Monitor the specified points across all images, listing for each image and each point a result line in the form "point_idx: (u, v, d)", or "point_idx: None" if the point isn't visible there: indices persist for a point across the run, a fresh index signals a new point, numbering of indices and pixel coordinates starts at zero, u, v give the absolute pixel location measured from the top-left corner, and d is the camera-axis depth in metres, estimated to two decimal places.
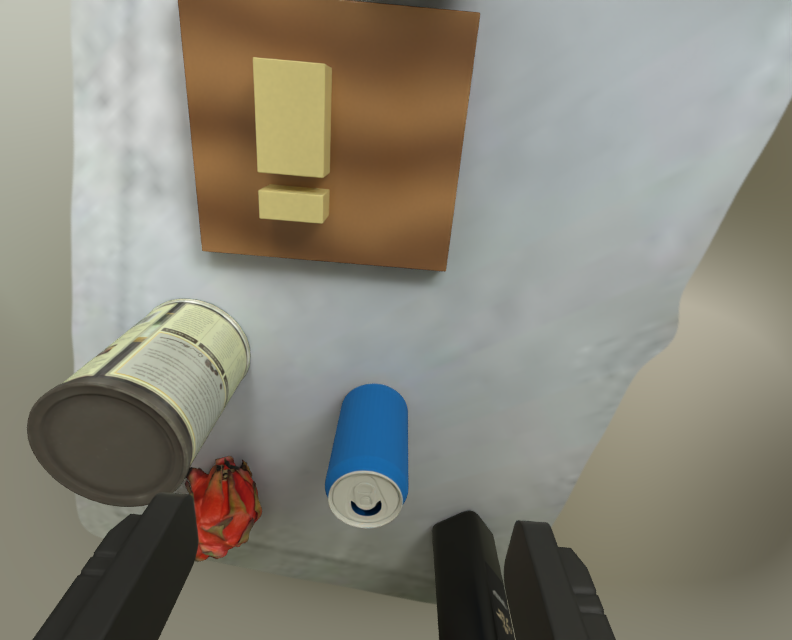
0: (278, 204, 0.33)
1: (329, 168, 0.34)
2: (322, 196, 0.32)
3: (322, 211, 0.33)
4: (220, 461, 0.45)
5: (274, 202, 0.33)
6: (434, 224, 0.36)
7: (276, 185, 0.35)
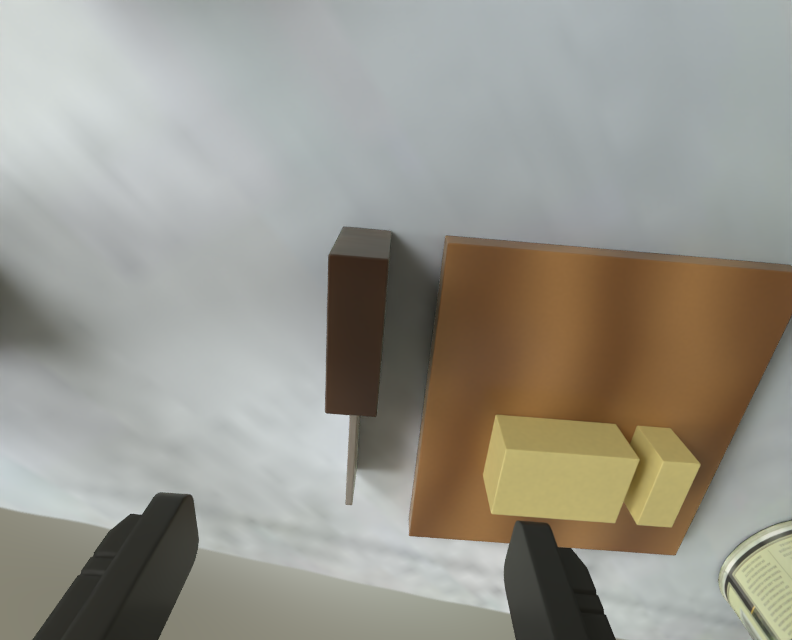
0: (659, 508, 0.25)
1: (611, 425, 0.26)
2: (663, 461, 0.24)
3: (683, 462, 0.24)
4: None
5: (656, 512, 0.25)
6: (725, 294, 0.23)
7: None
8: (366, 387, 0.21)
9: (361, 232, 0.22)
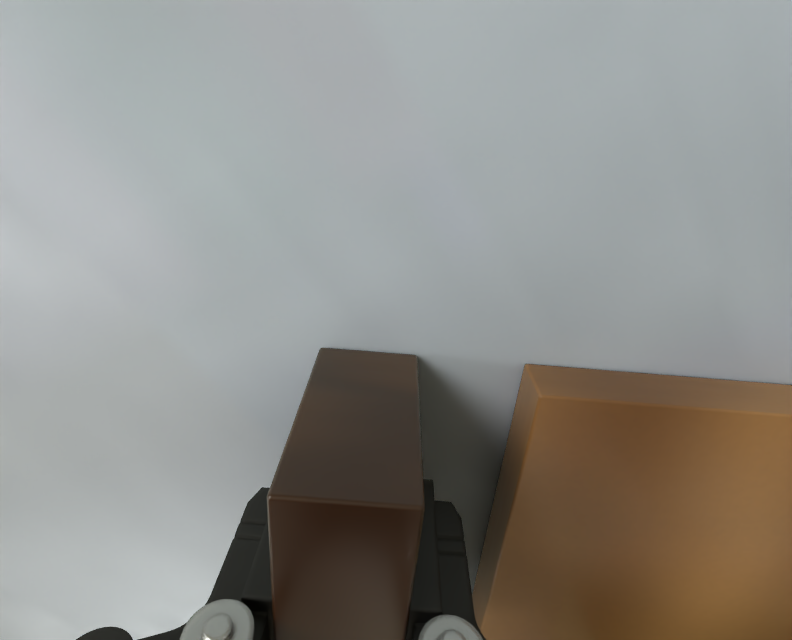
0: None
1: None
2: None
3: None
4: None
5: None
6: None
7: None
8: None
9: (356, 368, 0.11)
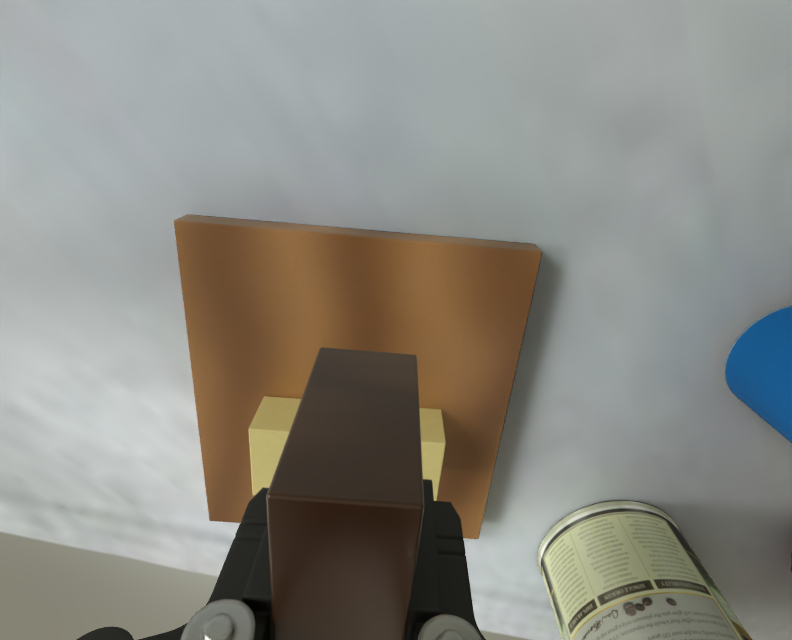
0: None
1: None
2: None
3: (428, 441, 0.24)
4: None
5: None
6: (461, 272, 0.23)
7: None
8: None
9: (356, 367, 0.11)
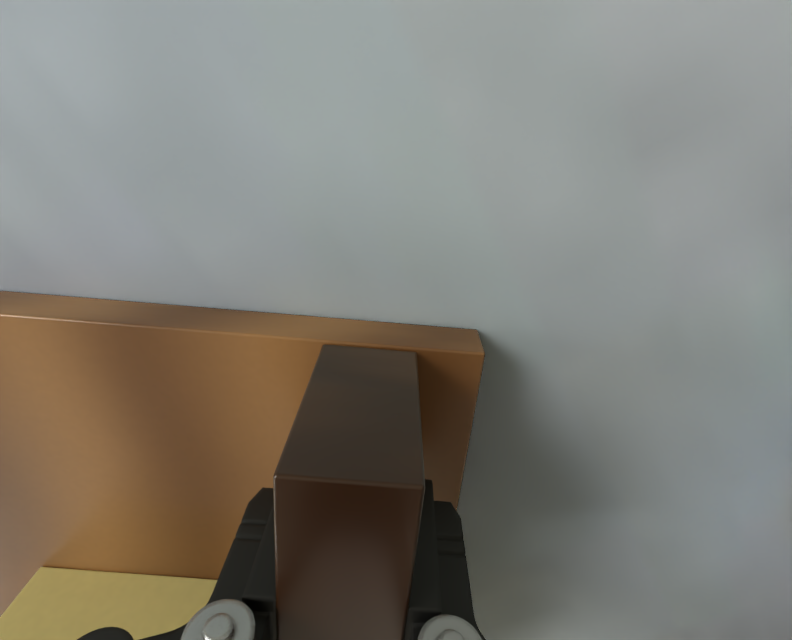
0: None
1: None
2: None
3: None
4: None
5: None
6: None
7: None
8: None
9: (358, 363, 0.11)
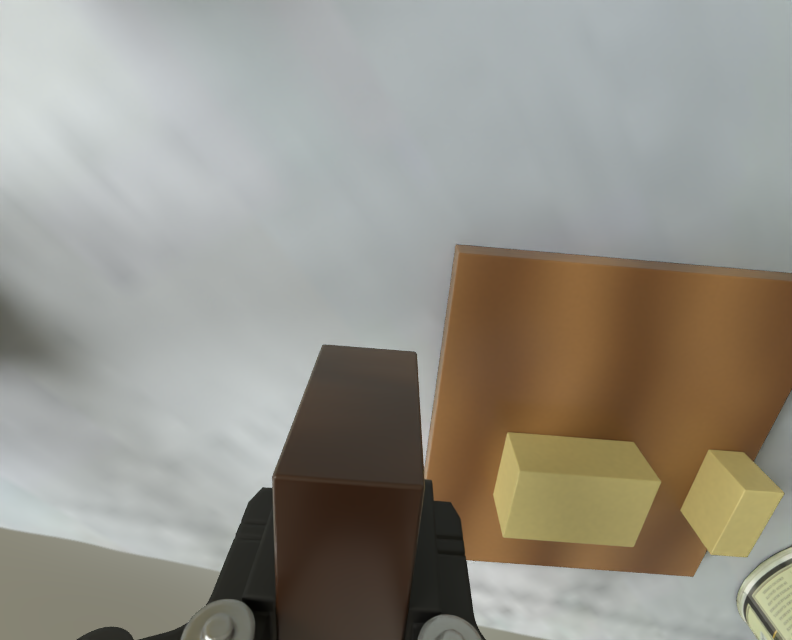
0: (736, 537, 0.24)
1: (629, 444, 0.25)
2: (744, 489, 0.22)
3: (766, 491, 0.22)
4: None
5: (732, 541, 0.24)
6: (753, 307, 0.22)
7: (686, 507, 0.26)
8: None
9: (357, 363, 0.11)
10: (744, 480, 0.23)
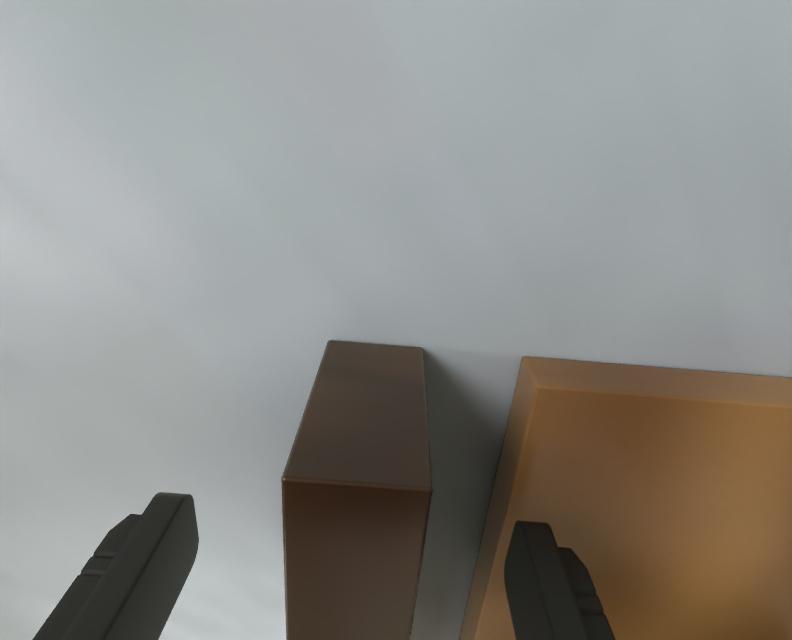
0: None
1: None
2: None
3: None
4: None
5: None
6: None
7: None
8: None
9: (364, 359, 0.11)
10: None
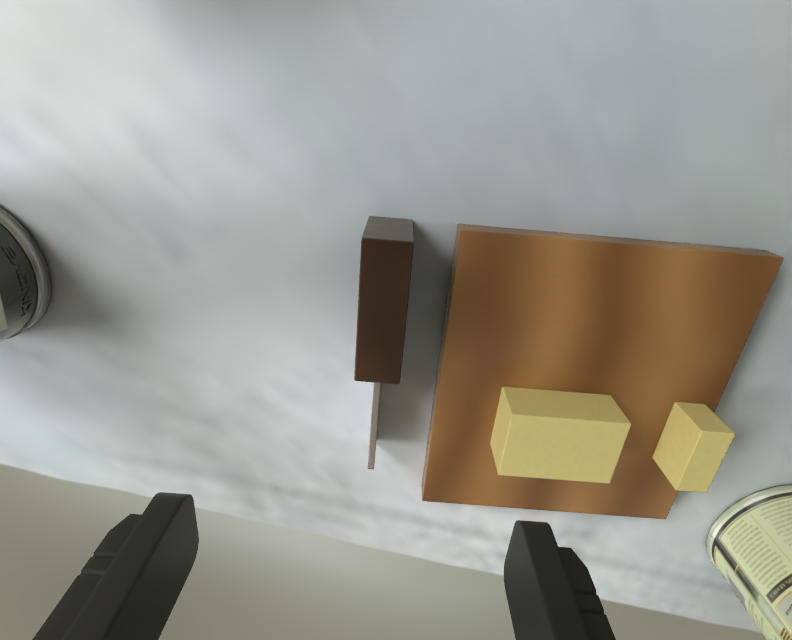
0: (696, 474, 0.28)
1: (606, 396, 0.29)
2: (701, 431, 0.27)
3: (719, 432, 0.27)
4: None
5: (693, 477, 0.28)
6: (707, 276, 0.26)
7: (657, 453, 0.31)
8: (391, 357, 0.24)
9: (386, 220, 0.25)
10: (702, 424, 0.27)
